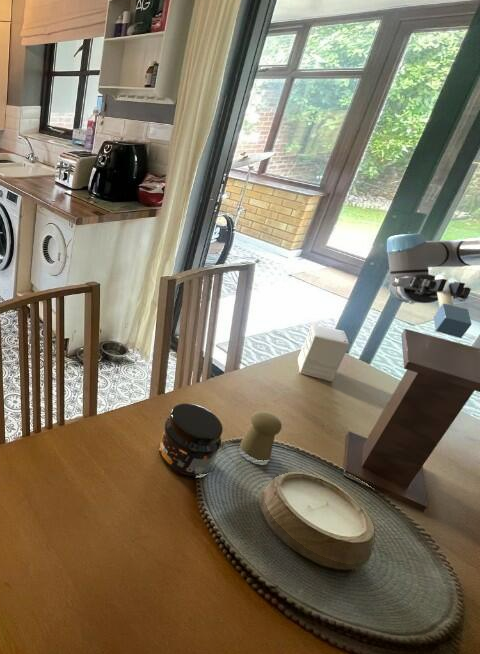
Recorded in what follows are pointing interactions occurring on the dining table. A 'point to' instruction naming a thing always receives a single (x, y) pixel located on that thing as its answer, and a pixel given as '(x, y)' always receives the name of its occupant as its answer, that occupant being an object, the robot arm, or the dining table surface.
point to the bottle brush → (450, 314)
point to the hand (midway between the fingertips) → (451, 286)
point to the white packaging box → (322, 352)
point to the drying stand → (415, 417)
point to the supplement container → (190, 440)
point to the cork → (261, 435)
